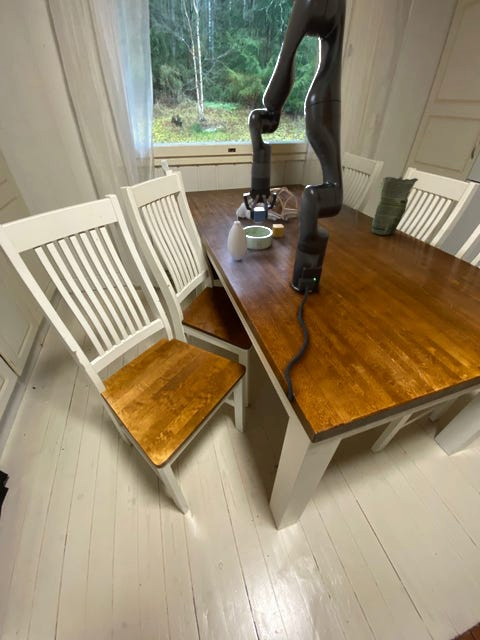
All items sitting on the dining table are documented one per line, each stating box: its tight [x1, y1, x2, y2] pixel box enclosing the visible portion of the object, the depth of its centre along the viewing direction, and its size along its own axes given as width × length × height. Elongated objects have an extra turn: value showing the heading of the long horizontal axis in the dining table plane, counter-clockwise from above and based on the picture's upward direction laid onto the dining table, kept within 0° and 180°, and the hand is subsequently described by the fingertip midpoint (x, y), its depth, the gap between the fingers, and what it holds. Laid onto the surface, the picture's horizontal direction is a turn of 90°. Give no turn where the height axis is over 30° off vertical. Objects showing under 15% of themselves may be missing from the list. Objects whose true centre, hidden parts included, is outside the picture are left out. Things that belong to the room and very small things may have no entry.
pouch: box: [370, 176, 419, 236], centre depth 128 cm, size 11×12×25 cm
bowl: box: [243, 225, 273, 251], centre depth 123 cm, size 14×14×6 cm
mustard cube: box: [271, 223, 285, 238], centre depth 130 cm, size 5×5×5 cm
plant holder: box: [235, 186, 300, 224], centre depth 147 cm, size 28×35×16 cm
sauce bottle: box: [227, 215, 248, 261], centre depth 106 cm, size 8×8×18 cm
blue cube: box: [253, 206, 266, 223], centre depth 114 cm, size 5×5×5 cm
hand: (258, 219), depth 115 cm, fingers closed on blue cube, 4 cm apart
